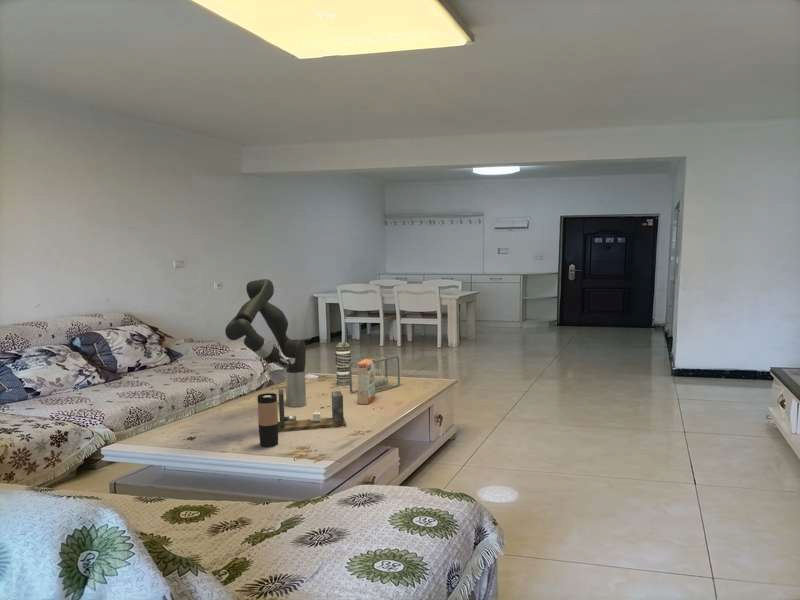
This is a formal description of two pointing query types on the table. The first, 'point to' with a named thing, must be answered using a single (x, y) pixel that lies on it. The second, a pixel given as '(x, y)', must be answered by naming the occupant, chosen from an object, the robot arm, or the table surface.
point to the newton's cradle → (381, 380)
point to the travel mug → (268, 419)
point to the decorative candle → (343, 364)
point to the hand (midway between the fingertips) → (293, 370)
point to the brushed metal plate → (281, 410)
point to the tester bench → (308, 424)
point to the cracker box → (366, 381)
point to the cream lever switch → (316, 416)
